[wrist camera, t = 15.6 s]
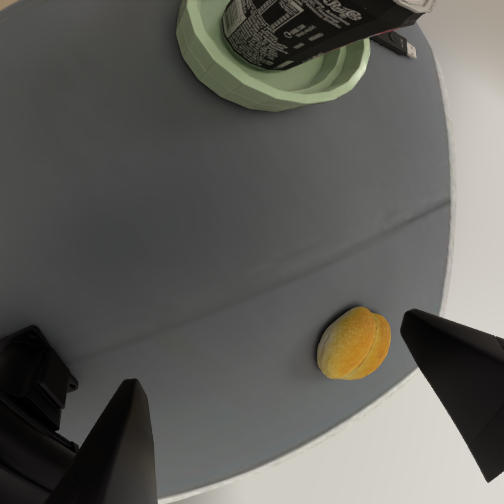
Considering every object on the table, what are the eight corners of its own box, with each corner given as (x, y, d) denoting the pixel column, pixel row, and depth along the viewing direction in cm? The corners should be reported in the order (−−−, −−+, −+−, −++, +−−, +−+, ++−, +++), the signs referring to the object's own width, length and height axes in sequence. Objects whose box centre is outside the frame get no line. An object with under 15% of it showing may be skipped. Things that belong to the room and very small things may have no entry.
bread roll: (341, 295, 26) (369, 314, 22) (386, 316, 30) (410, 332, 27) (296, 366, 27) (318, 391, 23) (348, 374, 31) (368, 394, 27)
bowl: (201, 131, 17) (220, 122, 13) (160, -17, 12) (169, -52, 8) (347, 101, 20) (387, 95, 16) (307, -22, 15) (338, -43, 11)
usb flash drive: (410, 46, 20) (417, 45, 20) (411, 61, 21) (418, 60, 20) (356, 15, 17) (363, 12, 17) (356, 32, 18) (364, 29, 17)
